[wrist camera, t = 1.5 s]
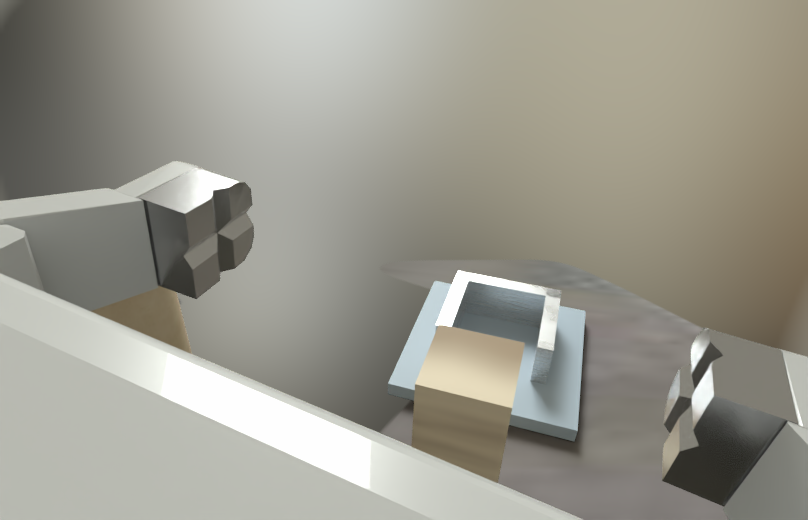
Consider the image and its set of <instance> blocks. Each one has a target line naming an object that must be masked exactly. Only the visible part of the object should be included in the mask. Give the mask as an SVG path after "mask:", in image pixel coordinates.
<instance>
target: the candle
mask: <svg viewBox="0 0 808 520" xmlns="http://www.w3.org/2000/svg"><path fill="white" fill-rule="evenodd" d="M91 312H93V313H96V314H98V315H100V316H103V317H105V318H107V319H110V320H112V321H115V322H117V323H119V324H122V325H124V326H126V327H129V328H131V329H133V330H136V331H138V332H141V333H143V334H145V335H148V336H150V337H152V338H155V339H157V340H160V341H162V342H164V343H167V344H169V345H171V346H174V347H176V348H178V349H181V350H183V351H186V352H188V353H190V354H192V353H191V348H190V344H189V340H188V336H187V333H186V329H185V325H184V321H183V316H182V313H181V309H180V305H179V301H178V297H177V293H176V292H175V291H172V290H169V289H167V288H164V287H161V286H158V288H156V289H153V290H150V291H147V292H145V293H142V294H139V295H136V296H133V297H130V298H127V299H124V300H122V301H119V302H116V303H113V304H110V305H107V306H104V307H101V308H98V309H96V310H93V311H91Z"/></svg>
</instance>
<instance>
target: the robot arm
mask: <svg viewBox="0 0 808 520" xmlns="http://www.w3.org/2000/svg"><path fill="white" fill-rule="evenodd" d="M251 206H252V197H251V189H250V188H249V186H248V185H247V184H246V183H245V182H242V181H239V180H236V179H233V178H230V177H227V176H225V175H221V174H219V173H216V172H213V171H210V170H207V169H203V168H201V167H198V166H195V165H192V164H188V163H185V162H179V161H173V162H171V163H169V164H167V165H165V166H163V167H161V168H159V169H157V170H155V171H153V172H151V173H149V174H146V175H144V176H142V177H140V178H138V179H136V180H134V181H132V182H130V183H128V184H126V185H124V186H122V187H120V188H117V189H116V190H112V189H109V188H104V189H96V190H88V191H80V192H72V193H63V194H55V195H48V196H39V197H31V198H23V199H15V200H7V201H0V520H583V519H581V518H578V517H576V516H573V515H571V514H569V513H566V512H564V511H562V510H559V509H557V508H555V507H552V506H550V505H548V504H545V503H543V502H540V501H538V500H536V499H533V498H531V497H529V496H526V495H524V494H522V493H519V492H517V491H515V490H512V489H510V488H508V487H505V486H503V485H500V484H498V483H496V482H493V481H491V480H489V479H486V478H484V477H482V476H479V475H477V474H475V473H472V472H470V471H467V470H465V469H463V468H460V467H458V466H456V465H453V464H451V463H449V462H446V461H444V460H442V459H439V458H437V457H434V456H432V455H430V454H427V453H425V452H423V451H420V450H418V449H416V448H413V447H411V446H409V445H406V444H404V443H401V442H399V441H397V440H394V439H392V438H390V437H387V436H385V435H383V434H380V433H378V432H375V431H373V430H371V429H368V428H366V427H364V426H361V425H359V424H356V423H354V422H352V421H349V420H347V419H345V418H342V417H340V416H337V415H335V414H333V413H330V412H328V411H326V410H323V409H321V408H319V407H316V406H314V405H311V404H309V403H307V402H304V401H302V400H299V399H297V398H295V397H292V396H290V395H288V394H285V393H283V392H281V391H278V390H276V389H273V388H271V387H269V386H266V385H264V384H261V383H259V382H256V381H254V380H252V379H249V378H247V377H245V376H242V375H240V374H238V373H235V372H233V371H230V370H228V369H226V368H223V367H221V366H219V365H216V364H214V363H212V362H209V361H207V360H204V359H202V358H200V357H197V356H195V355H193V354H190V353H188V352H186V351H183V350H181V349H178V348H176V347H174V346H171V345H169V344H167V343H164V342H162V341H160V340H157V339H155V338H152V337H150V336H148V335H145V334H143V333H141V332H138V331H136V330H133V329H131V328H129V327H126V326H124V325H122V324H119V323H117V322H115V321H112V320H110V319H107V318H105V317H103V316H100V315H98V314H96V313H93V312H91V311H93V310H96V309H98V308H101V307H104V306H107V305H110V304H113V303H116V302H119V301H122V300H124V299H127V298H130V297H133V296H136V295H139V294H142V293H145V292H147V291H150V290H153V289H156V288H158V286H161V287H164V288H167V289H169V290H172V291H175V292H178V293H181V294H183V295H186V296H189V297H192V298H195V299H197V298H198V297H199V296H201V295H202V294H203V293H205V292H206V291H207V290H208V289H210V288H211V287H212V286H213V285H215V284H216V283H217V282H219V281H220V273H221V272H222V271H226V270H230V269H234V268H236V267H237V266H238V265H239V264H241V263H242V262H243V261H244V260H245V258H246V256H247V255H248V253H249V251H250V249H251V247H252V242H253V238H254V227H253V223H252V222H251V220H250V218H249V217H248V215H247V213H246V212H247V211H248V210H249V208H250V207H251ZM664 425H665V427H666V428H667V430H668V431H669V433H670V435H669V437H668V438H667V440H666V442H665V444H664V445H663V473H662V481H664V482H667V483H669V484H671V485H674V486H676V487H679V488H681V489H683V490H686V491H688V492H691V493H693V494H695V495H698V496H700V497H703V498H705V499H707V500H710V501H712V502H715V503H717V504H719V505H722V506H724V508H723V510H724V512H725V514H726V515H727V517H728V519H729V520H808V357H806V356H802V355H799V354H795V353H792V352H788V351H784V350H781V349H776V348H773V347H769V346H766V345H762V344H759V343H756V342H752V341H749V340H745V339H742V338H738V337H735V336H731V335H728V334H725V333H721V332H718V331H714V330H711V329H707V328H703V329H702V331H701V332H700V333H699V334H698V336H697V337H696V339H695V341H694V343H693V345H692V346H691V364H689V365H686V366H684V367H682V368H680V369H679V371H678V373H677V375H676V377H675V379H674V381H673V383H672V386H671V388H670V391H669V394H668V397H667V401H666V406H665V412H664Z"/></svg>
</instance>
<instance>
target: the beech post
mask: <svg viewBox="0 0 808 520" xmlns="http://www.w3.org/2000/svg"><path fill="white" fill-rule="evenodd" d="M524 345H525V343H524V342H519V341H514V340H510V339H505V338H501V337H496V336H492V335H487V334H482V333H478V332H473V331H469V330H464V329H460V328H455V327H451V326H446V325H441V324H439V325H438V328H437V330H436V333H435V335H434V338H433V340H432V343H431V345H430V348H429V350H428V353H427V355H426V358H425V360H424V363H423V365H422V368H421V370H420V373H419V375H418V378H417V380H416V383H415V393H414V412H413V432H412V447H413V448H416V449H418V450H420V451H423V452H425V453H427V454H430V455H432V456H434V457H437V458H439V459H442V460H444V461H446V462H449V463H451V464H453V465H456V466H458V467H460V468H463V469H465V470H467V471H470V472H472V473H475V474H477V475H479V476H482V477H484V478H486V479H489V480H491V481H493V482H496V483H498V479H499V474H500V468H501V463H502V458H503V453H504V448H505V443H506V438H507V433H508V427H509V422H510V417H511V412H512V407H513V402H514V397H515V392H516V386H517V381H518V376H519V371H520V366H521V361H522V356H523V350H524Z"/></svg>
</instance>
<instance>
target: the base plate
mask: <svg viewBox="0 0 808 520" xmlns="http://www.w3.org/2000/svg"><path fill="white" fill-rule="evenodd" d="M451 286H452V284H448V283H443V282H438V281H435V282H434V284H433V286H432V288H431V290H430V293H429V295H428V297H427V299H426V301H425V304H424V306H423V308H422V310H421V313H420V315H419V317H418V319H417V321H416V323H415V326H414V328H413V330H412V332H411V334H410V337H409V339H408V341H407V343H406V345H405V348H404V350H403V352H402V354H401V357H400V359H399V361H398V363H397V365H396V367H395V370H394V372H393V374H392V376H391V378H390V380H389V383H388V394H389V395H393V396H397V397H401V398H405V399H409V400H413V401H414V393H415V383H416V380H417V378H418V375H419V373H420V370H421V368H422V365H423V363H424V360H425V358H426V355H427V353H428V350H429V348H430V345H431V343H432V340H433V338H434V335H435V330H436V323H437V321H438V318H439V316H440V314H441V311H442V309H443V306H444V304H445V301H446V299H447V296H448V294H449V291H450V289H451ZM584 326H585V311H583V310H578V309H573V308H568V307H563V306H559V312H558V320H557V328H556V336H555V343H554V351H553V355H552V359H551V364H550V368H549V372H548V376H547V381H546V385H545V384H541V383H537V382H532V381H530V379H531V373H532V367H533V362H534V356H535V350H536V344H537V338H538V332H539V328H537V327H532V326H527V325H522V324H518V323H513V322H508V321H503V320H499V319H494V318H489V317H485V316H480V315H475V314H470V313H466V312H465V313H464V316H463V319H462V322H461V325H460V329H464V330H469V331H473V332H478V333H482V334H487V335H492V336H496V337H501V338H505V339H510V340H514V341H519V342H524V343H525V345H524V350H523V356H522V361H521V366H520V371H519V376H518V381H517V386H516V392H515V397H514V402H513V407H512V412H511V417H510V422H509V425H511V426H515V427H519V428H523V429H527V430H531V431H535V432H539V433H542V434H546V435H550V436H554V437H558V438H562V439H566V440H570V441H575V438H576V434H577V431H578V417H579V402H580V387H581V372H582V357H583V341H584Z"/></svg>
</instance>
